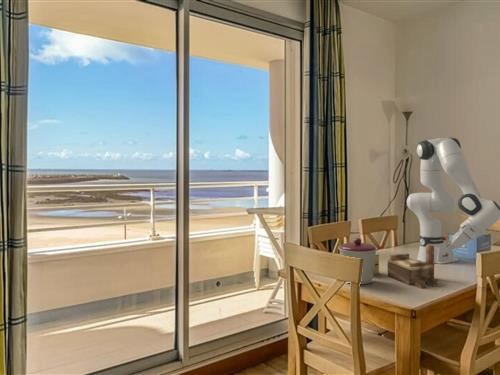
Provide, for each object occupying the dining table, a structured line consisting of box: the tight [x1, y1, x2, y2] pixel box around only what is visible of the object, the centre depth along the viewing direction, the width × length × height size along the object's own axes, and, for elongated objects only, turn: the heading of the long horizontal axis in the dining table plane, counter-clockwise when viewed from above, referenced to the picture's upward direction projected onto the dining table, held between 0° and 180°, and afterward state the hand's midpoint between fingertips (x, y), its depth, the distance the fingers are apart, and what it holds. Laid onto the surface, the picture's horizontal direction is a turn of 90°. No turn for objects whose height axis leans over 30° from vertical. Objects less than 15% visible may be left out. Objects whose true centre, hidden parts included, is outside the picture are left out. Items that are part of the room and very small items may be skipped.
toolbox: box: [387, 261, 439, 289], centre depth 196 cm, size 12×22×7 cm, turn 18°
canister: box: [337, 237, 378, 286], centre depth 195 cm, size 18×18×21 cm
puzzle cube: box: [373, 253, 380, 276], centre depth 211 cm, size 10×10×10 cm
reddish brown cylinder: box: [426, 245, 435, 279], centre depth 198 cm, size 4×4×16 cm
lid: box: [387, 252, 433, 270], centre depth 197 cm, size 12×18×4 cm
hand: (446, 249), depth 195 cm, fingers open, 8 cm apart
